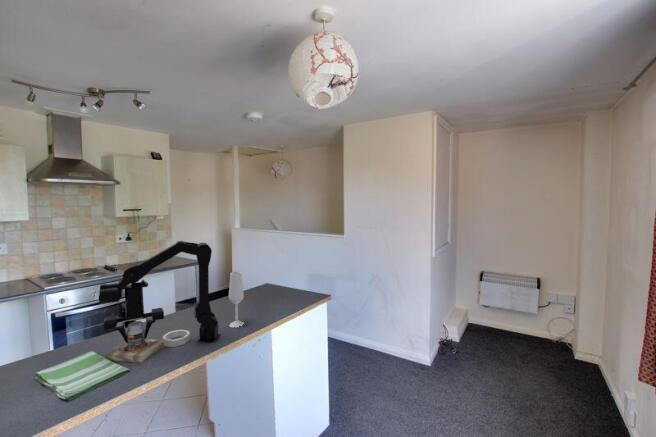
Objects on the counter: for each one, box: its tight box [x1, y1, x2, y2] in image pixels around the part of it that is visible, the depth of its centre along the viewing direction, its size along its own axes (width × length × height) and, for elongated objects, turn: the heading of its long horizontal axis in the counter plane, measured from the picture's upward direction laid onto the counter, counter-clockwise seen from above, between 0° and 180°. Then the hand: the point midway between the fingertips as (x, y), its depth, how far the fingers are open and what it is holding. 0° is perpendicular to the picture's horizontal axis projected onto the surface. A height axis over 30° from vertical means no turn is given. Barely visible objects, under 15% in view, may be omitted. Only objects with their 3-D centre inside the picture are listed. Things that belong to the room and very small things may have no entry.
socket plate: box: [105, 338, 165, 364], centre depth 116 cm, size 14×12×2 cm
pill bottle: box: [126, 320, 145, 352], centre depth 115 cm, size 6×6×10 cm
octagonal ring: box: [162, 329, 191, 348], centre depth 125 cm, size 10×10×2 cm
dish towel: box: [34, 350, 131, 401], centre depth 101 cm, size 18×23×3 cm
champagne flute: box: [228, 271, 245, 328], centre depth 141 cm, size 7×7×24 cm
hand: (136, 340), depth 115 cm, fingers closed on pill bottle, 6 cm apart
